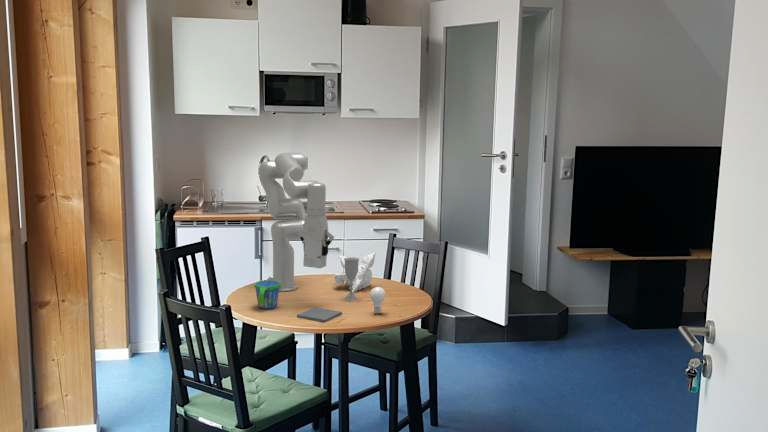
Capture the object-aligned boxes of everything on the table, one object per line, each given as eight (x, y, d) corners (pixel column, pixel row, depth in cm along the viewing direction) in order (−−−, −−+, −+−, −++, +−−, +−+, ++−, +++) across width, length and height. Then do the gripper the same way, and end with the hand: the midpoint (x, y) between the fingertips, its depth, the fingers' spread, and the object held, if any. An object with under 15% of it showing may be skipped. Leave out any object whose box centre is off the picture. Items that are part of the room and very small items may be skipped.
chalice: (356, 302, 285) (357, 261, 283) (341, 301, 286) (341, 260, 284) (360, 298, 292) (361, 257, 290) (345, 296, 294) (346, 256, 291)
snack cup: (271, 313, 265) (271, 288, 264) (247, 311, 268) (247, 286, 267) (286, 303, 280) (286, 280, 279) (263, 301, 283) (263, 278, 282)
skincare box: (303, 266, 276) (303, 231, 273) (310, 263, 281) (310, 229, 279) (321, 268, 273) (321, 233, 270) (327, 266, 278) (328, 231, 276)
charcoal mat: (296, 317, 261) (296, 314, 261) (315, 309, 272) (315, 307, 272) (324, 322, 255) (324, 319, 255) (342, 314, 267) (342, 311, 266)
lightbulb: (373, 316, 265) (373, 289, 263) (367, 312, 270) (367, 285, 269) (387, 314, 267) (388, 288, 266) (381, 310, 273) (382, 284, 271)
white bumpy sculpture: (377, 263, 323) (375, 248, 305) (377, 302, 315) (374, 289, 297) (339, 263, 324) (334, 248, 306) (338, 303, 316) (332, 290, 298)
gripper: (293, 212, 274) (293, 253, 277) (329, 215, 266) (328, 258, 269) (303, 210, 281) (303, 250, 283) (338, 213, 273) (338, 255, 275)
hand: (315, 254), depth 276 cm, fingers closed on skincare box, 8 cm apart
